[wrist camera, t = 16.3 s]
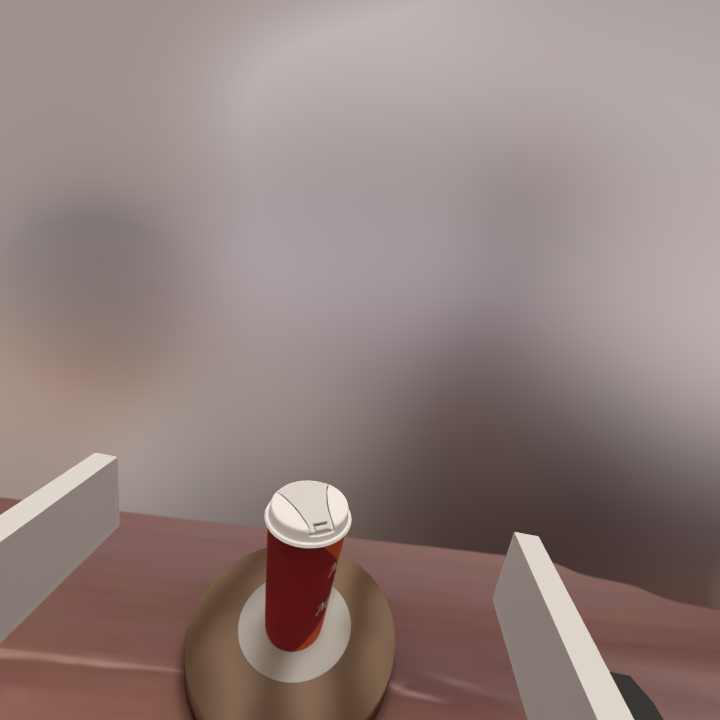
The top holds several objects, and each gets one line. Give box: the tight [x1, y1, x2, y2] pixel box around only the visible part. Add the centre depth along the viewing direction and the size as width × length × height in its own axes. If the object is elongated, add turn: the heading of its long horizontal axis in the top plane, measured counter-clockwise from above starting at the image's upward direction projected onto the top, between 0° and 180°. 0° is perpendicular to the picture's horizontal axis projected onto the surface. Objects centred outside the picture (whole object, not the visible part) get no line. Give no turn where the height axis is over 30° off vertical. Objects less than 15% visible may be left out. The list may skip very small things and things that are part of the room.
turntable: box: [184, 548, 395, 720], centre depth 37 cm, size 20×20×2 cm
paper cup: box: [265, 481, 351, 652], centre depth 35 cm, size 8×8×14 cm
